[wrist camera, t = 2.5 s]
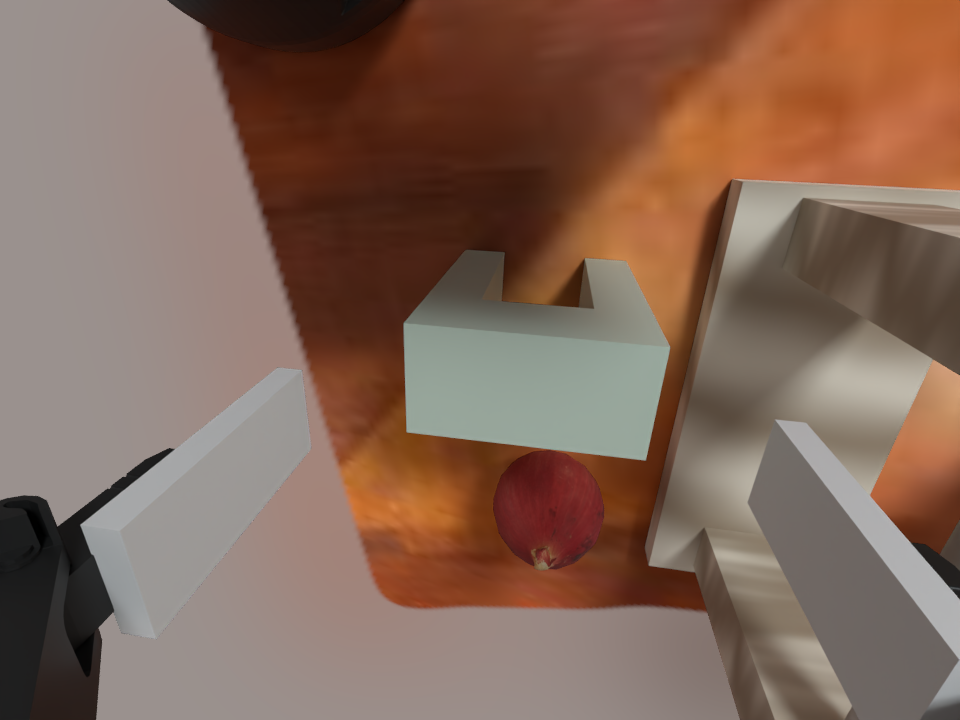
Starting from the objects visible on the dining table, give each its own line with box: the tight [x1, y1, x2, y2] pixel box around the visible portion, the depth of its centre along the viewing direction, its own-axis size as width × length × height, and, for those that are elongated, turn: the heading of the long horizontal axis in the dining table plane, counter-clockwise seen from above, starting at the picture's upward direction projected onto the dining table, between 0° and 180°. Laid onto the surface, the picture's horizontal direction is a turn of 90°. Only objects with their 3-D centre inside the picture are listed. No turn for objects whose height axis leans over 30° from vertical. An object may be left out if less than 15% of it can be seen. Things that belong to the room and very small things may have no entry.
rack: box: [645, 179, 960, 720], centre depth 19 cm, size 22×10×16 cm, turn 178°
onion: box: [493, 450, 604, 570], centre depth 26 cm, size 6×6×8 cm
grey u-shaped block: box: [403, 250, 670, 461], centre depth 21 cm, size 4×8×11 cm, turn 88°
